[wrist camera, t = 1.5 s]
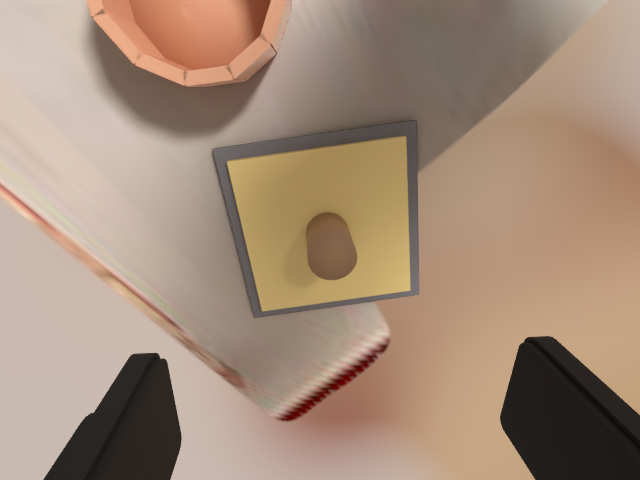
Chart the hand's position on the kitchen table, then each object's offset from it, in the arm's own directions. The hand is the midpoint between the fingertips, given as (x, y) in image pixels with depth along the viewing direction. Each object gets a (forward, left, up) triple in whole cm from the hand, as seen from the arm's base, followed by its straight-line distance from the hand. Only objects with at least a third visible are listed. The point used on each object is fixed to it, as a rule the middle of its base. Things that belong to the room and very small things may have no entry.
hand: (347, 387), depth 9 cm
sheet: (-1, +4, -21) cm, 21 cm away
